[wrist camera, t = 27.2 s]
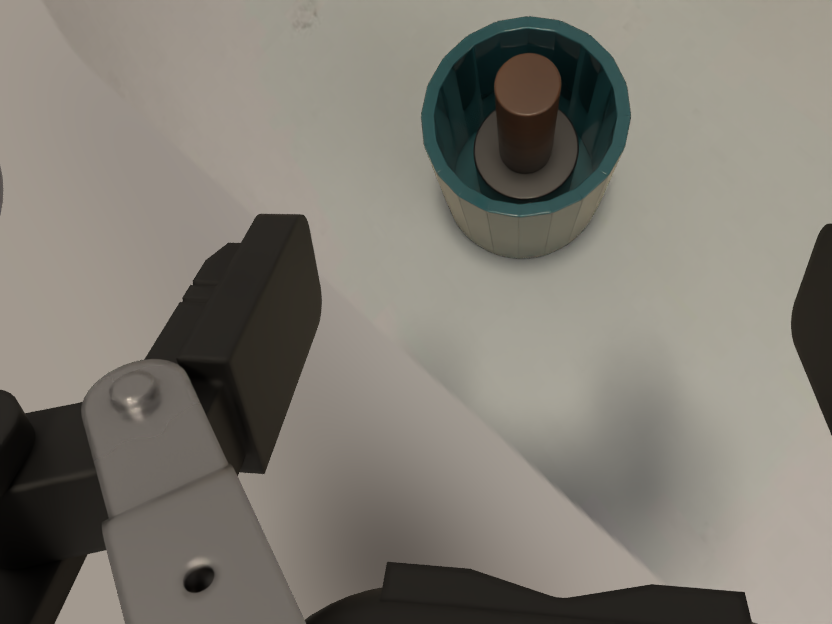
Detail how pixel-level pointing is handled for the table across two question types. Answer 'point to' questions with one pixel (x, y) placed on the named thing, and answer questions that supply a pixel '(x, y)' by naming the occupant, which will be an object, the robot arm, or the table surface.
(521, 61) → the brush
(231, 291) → the robot arm
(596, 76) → the crock
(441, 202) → the table surface
